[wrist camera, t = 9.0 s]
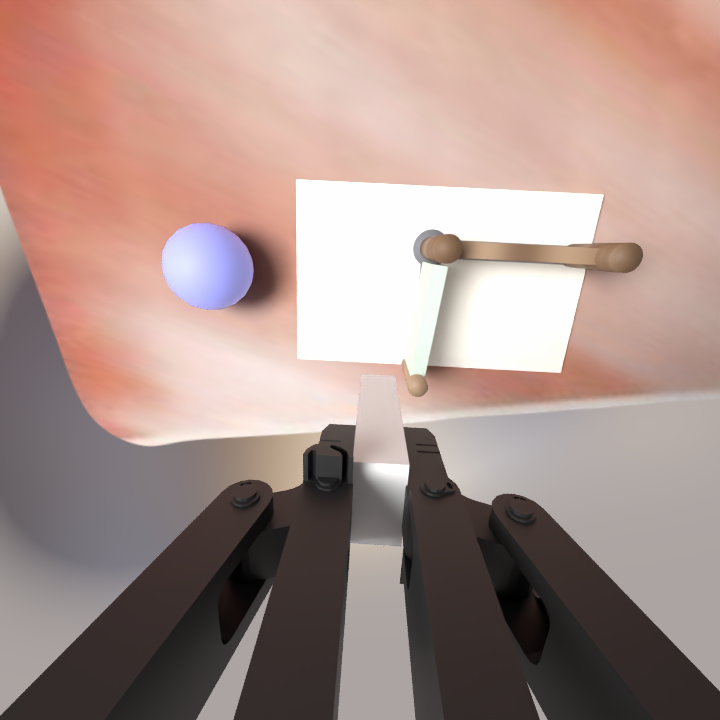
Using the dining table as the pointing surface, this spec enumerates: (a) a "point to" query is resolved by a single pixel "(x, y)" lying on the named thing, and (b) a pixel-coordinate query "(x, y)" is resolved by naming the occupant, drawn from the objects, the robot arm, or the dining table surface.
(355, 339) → the card
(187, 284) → the sphere
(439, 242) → the fixed fence section
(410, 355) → the folding fence panel
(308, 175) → the dining table surface
